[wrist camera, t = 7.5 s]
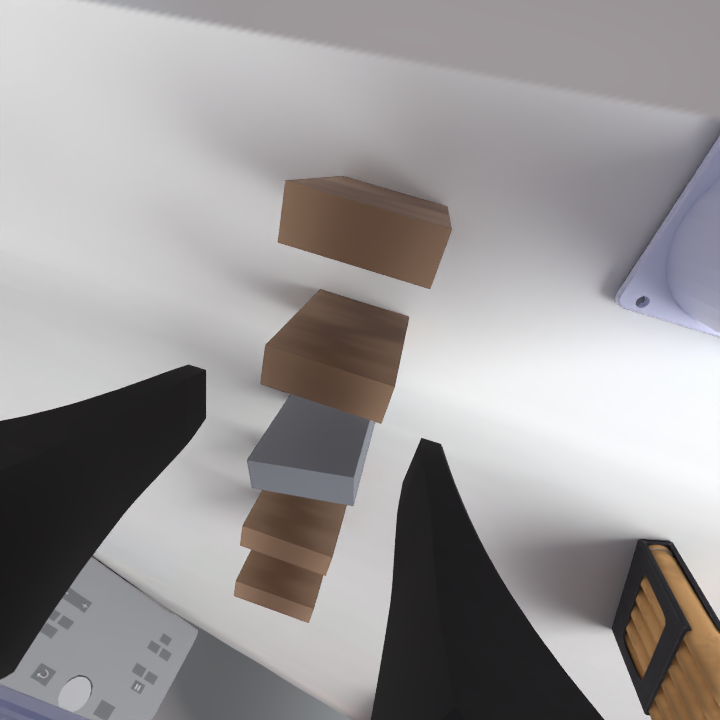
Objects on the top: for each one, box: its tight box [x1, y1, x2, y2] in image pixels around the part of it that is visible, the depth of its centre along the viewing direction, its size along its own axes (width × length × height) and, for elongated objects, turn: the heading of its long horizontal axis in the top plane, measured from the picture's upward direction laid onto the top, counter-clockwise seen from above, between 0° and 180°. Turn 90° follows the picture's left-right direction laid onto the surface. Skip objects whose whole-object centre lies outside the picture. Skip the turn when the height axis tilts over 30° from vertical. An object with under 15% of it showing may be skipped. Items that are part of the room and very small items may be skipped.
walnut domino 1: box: [278, 176, 452, 289], centre depth 14 cm, size 5×2×7 cm, turn 76°
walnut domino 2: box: [260, 289, 409, 424], centre depth 16 cm, size 5×2×7 cm, turn 76°
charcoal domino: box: [247, 394, 375, 506], centre depth 19 cm, size 5×2×7 cm, turn 89°
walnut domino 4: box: [234, 550, 323, 623], centre depth 25 cm, size 5×2×7 cm, turn 76°
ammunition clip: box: [612, 540, 720, 720], centre depth 20 cm, size 11×2×12 cm, turn 9°
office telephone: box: [0, 557, 198, 720], centre depth 32 cm, size 23×3×20 cm, turn 41°
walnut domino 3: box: [240, 490, 347, 576], centre depth 22 cm, size 5×2×7 cm, turn 76°
